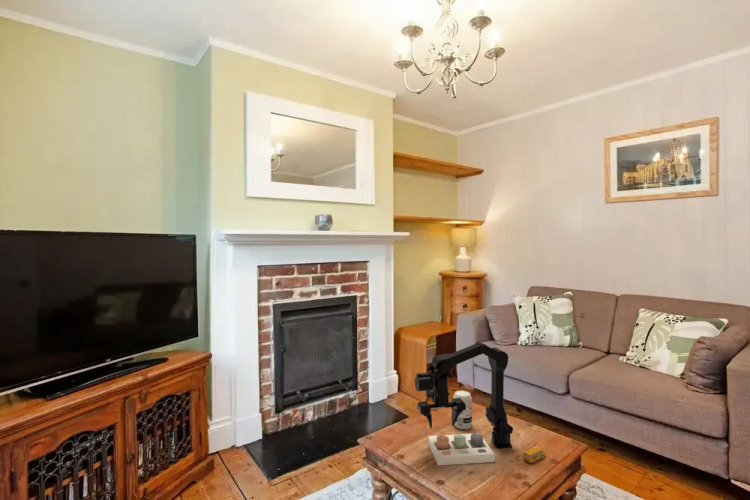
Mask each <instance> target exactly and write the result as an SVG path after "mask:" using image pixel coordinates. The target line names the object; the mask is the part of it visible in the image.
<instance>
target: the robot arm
mask: <svg viewBox="0 0 750 500" xmlns="http://www.w3.org/2000/svg"><path fill="white" fill-rule="evenodd" d="M480 355H484V356H487V359H488V364H489V366H490V369H491V385H490V386H491V393H490V395H491V397H490V405H489V406H486V407H485V417H486V419H487V421H488V422H489V423H490V425H491V426H492V431H491V439H490V440H491V443H492V444H493V445H494V447H496V448H497V449H504V448H512V447H513V445H512V444H511V435H512V434H513V431H514V427H512V426H511V425H510V423H508V416H507V412H506V409H505V407H504V392H505V391H504V390H505V389H504V388H505V387H504V386H505V385H504V379H505V375H504V374H505V371H506V369H507V367H508V364H509V355H508V353H507V352H506V351H504V350H501V349H500V348H498V347H490V346H488V345H487V344H485V343H483V342H482V341H478V342H476V343H474V344H472V345H469V346H466V347H464V348H461V349H459V350H457V351H454V352H452V353H441V354H438V355H437V354H436V355H434V356H433V357H432V359H431V363H430V365H429V366H428V368H427V369H426V372H422V373H421V372H417V373H416V374H415V377H414V380H413V381H414V387H415V391H416V392H425V398H426V399H429V398H430V400H431V401H432V403H428V401H427V400H425V401H418V402H417V404H416V407H417V408H416V409H417V411H418V412H419V413H420V415H423V416H424V417H426V420H427V422H428V426H429V429H432V428H433V420H432V419H433V418H432V410H437V409H447V408H450V409H451V426H452V427H455V426H454V424H455V422H456V420H457V418H458V416H459V415H460V413H461V412H463V410H466V404H465V402H464V401H463V400H462V399H461V398H452V399H451V401H449V397H450V392H449V379H450V378H454V375H453V374H452V373H451V372H450V371H452V370H453V369H454V368H455V367H457V365H458V364H462V363H463V362H466V361H468V360H471V359H474V358H476V357H478V356H480Z"/></svg>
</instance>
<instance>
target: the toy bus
mask: <svg viewBox="0 0 750 500" xmlns="http://www.w3.org/2000/svg"><path fill="white" fill-rule="evenodd" d="M545 457H546V452H545V450H543V448H541V447H540V446H537V445H536V446H534V447H531V448H529V449H528V450H525V451H523V452H522V458H523V460H524V461H526V462H528V463H529V464H531V463H535V462H536V461H539V460H541V459H544V458H545Z"/></svg>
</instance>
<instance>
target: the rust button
mask: <svg viewBox="0 0 750 500" xmlns="http://www.w3.org/2000/svg"><path fill="white" fill-rule="evenodd" d="M436 436H437V447H438V448H441V449H440V450H448V449H447V448H448V447H449V438H448V437H447V436H444V435H443V434H441V435H436Z"/></svg>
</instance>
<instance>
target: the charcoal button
mask: <svg viewBox="0 0 750 500" xmlns="http://www.w3.org/2000/svg"><path fill="white" fill-rule="evenodd" d="M470 434H471V445H473V446H476V447H475V448H481V446H483V439H484V436H483V434H481V433H480V434H478V432H477V433H476V432H475V433H470Z"/></svg>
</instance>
